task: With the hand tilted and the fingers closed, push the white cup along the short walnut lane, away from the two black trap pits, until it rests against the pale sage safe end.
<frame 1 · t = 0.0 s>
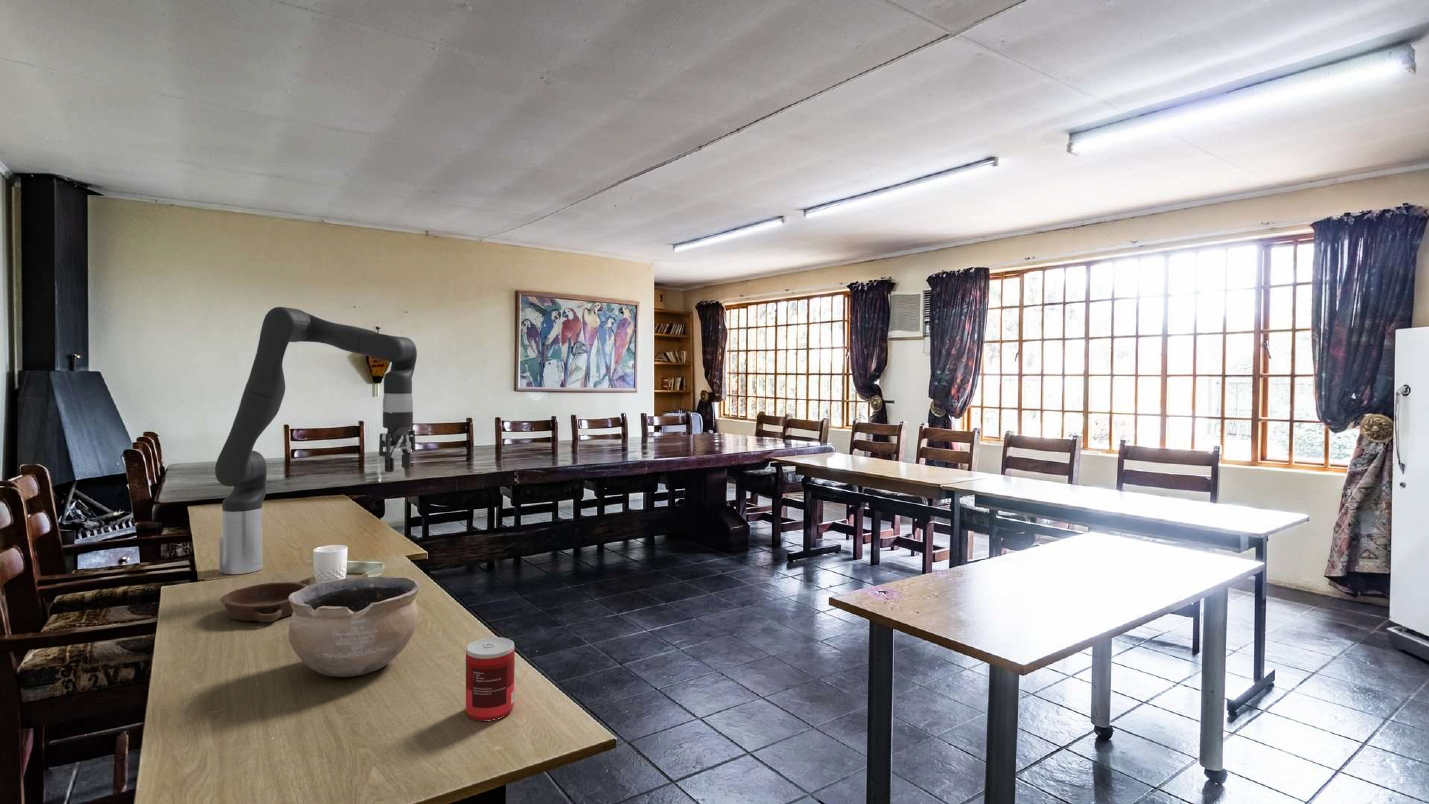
hand: (397, 469, 193), 29 cm above the table, tool pointing down, fingers open, 8 cm apart
white cup: (330, 587, 183), resting in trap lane
ceramic bowl: (355, 668, 134), on the table
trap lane: (335, 584, 185), on the table
canned food: (490, 712, 117), on the table
dish: (266, 614, 163), on the table
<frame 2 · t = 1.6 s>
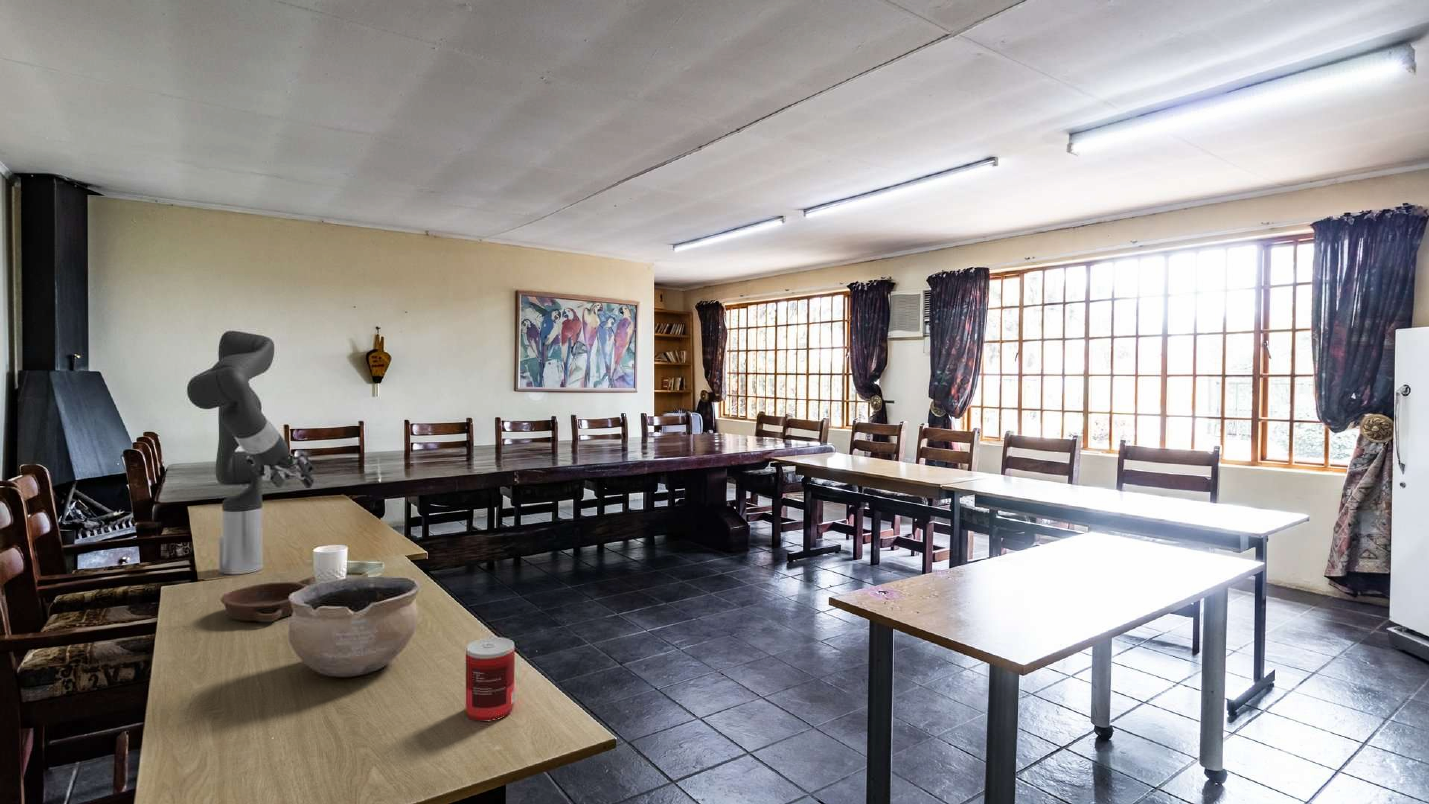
hand: (295, 484, 169), 28 cm above the table, tool tilted 45°, fingers open, 7 cm apart
nothing on the table moved.
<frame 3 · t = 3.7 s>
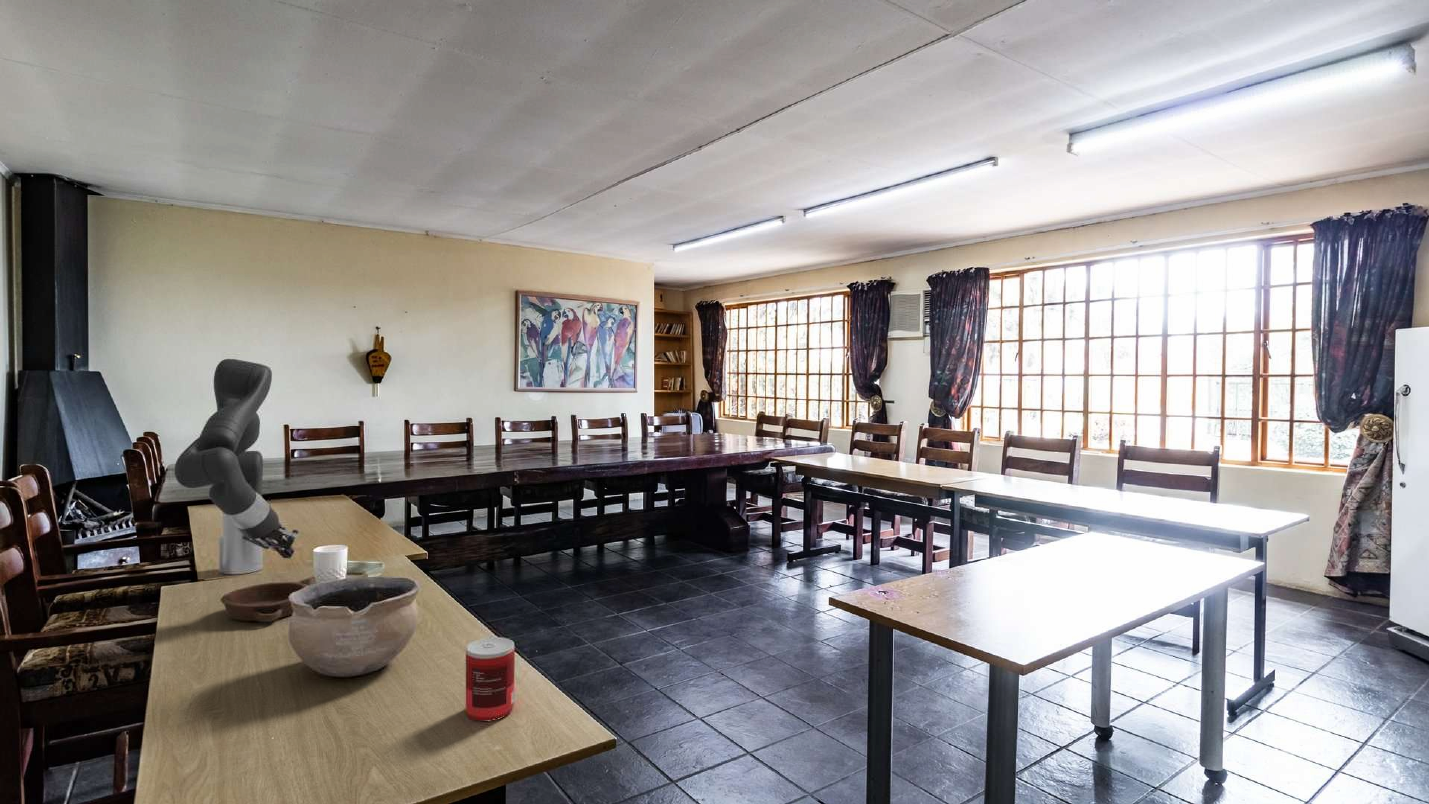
hand: (289, 554, 168), 12 cm above the table, tool tilted 45°, fingers closed
nothing on the table moved.
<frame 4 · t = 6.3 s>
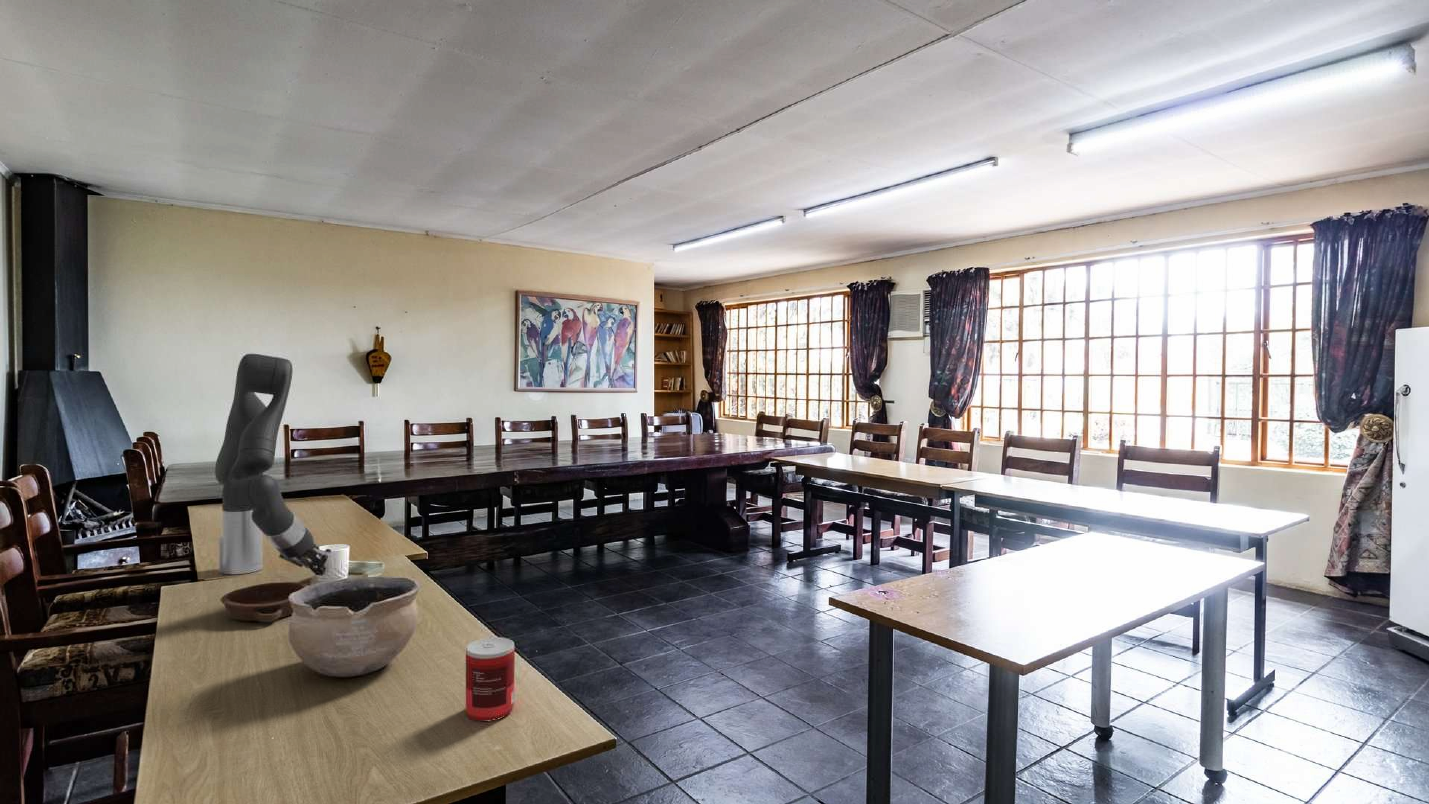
hand: (321, 572, 180), 5 cm above the table, tool tilted 45°, fingers closed
white cup: (332, 586, 184), resting in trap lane, touching gripper
everything else where it was.
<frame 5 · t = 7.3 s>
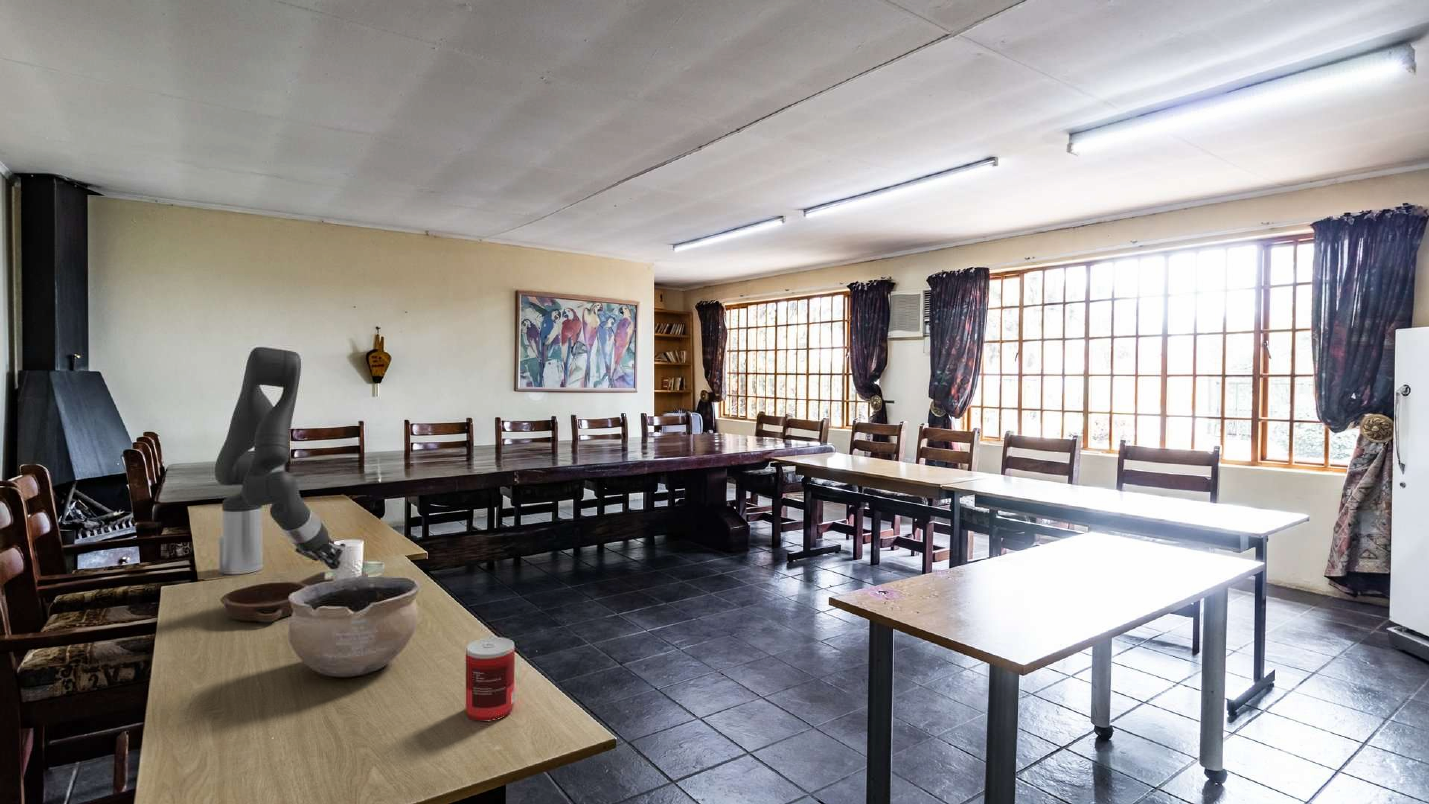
hand: (335, 566, 185), 5 cm above the table, tool tilted 45°, fingers closed
white cup: (347, 580, 190), resting in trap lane, touching gripper
everything else where it was.
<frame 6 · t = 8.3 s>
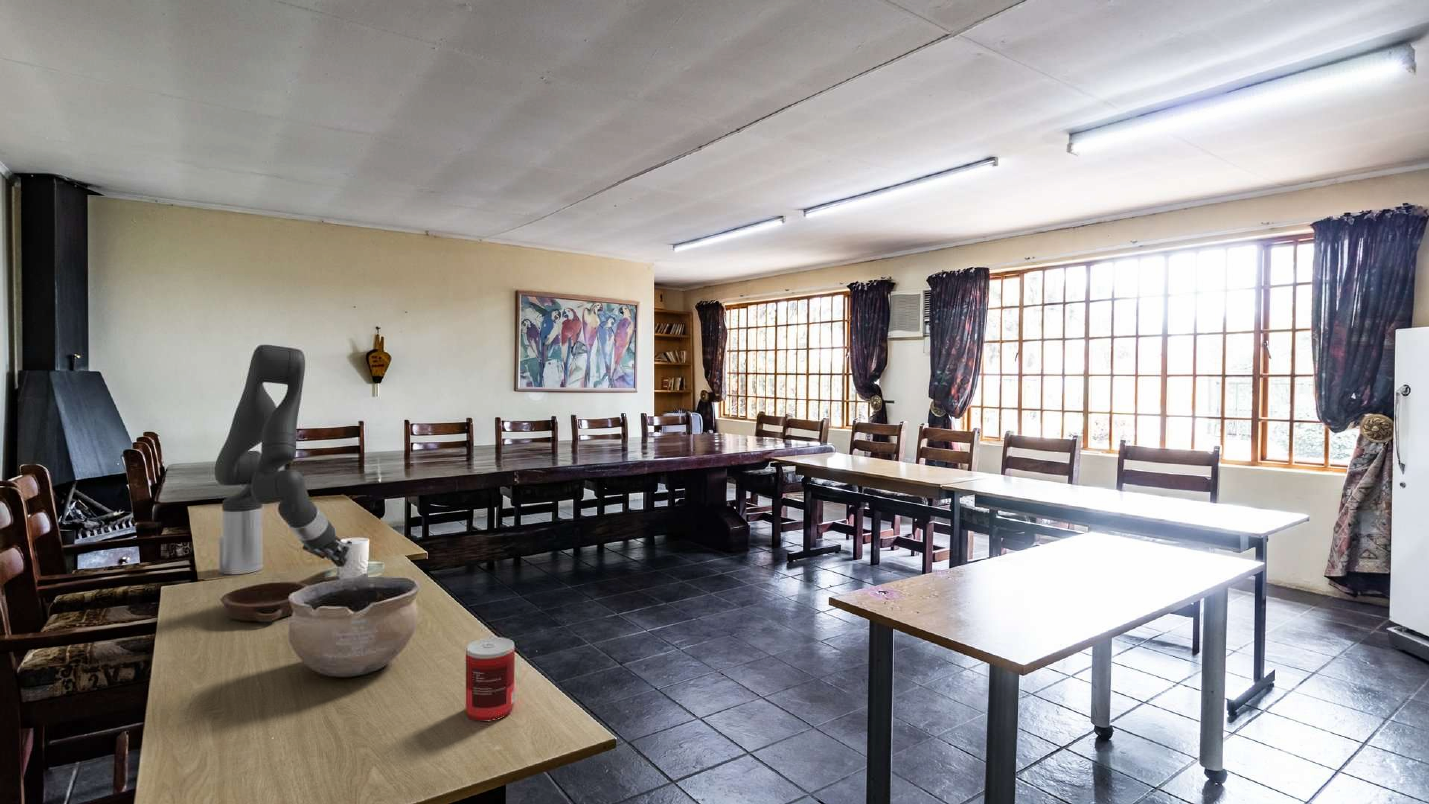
hand: (342, 563, 188), 5 cm above the table, tool tilted 45°, fingers closed
white cup: (353, 578, 192), resting in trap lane, touching gripper
everything else where it was.
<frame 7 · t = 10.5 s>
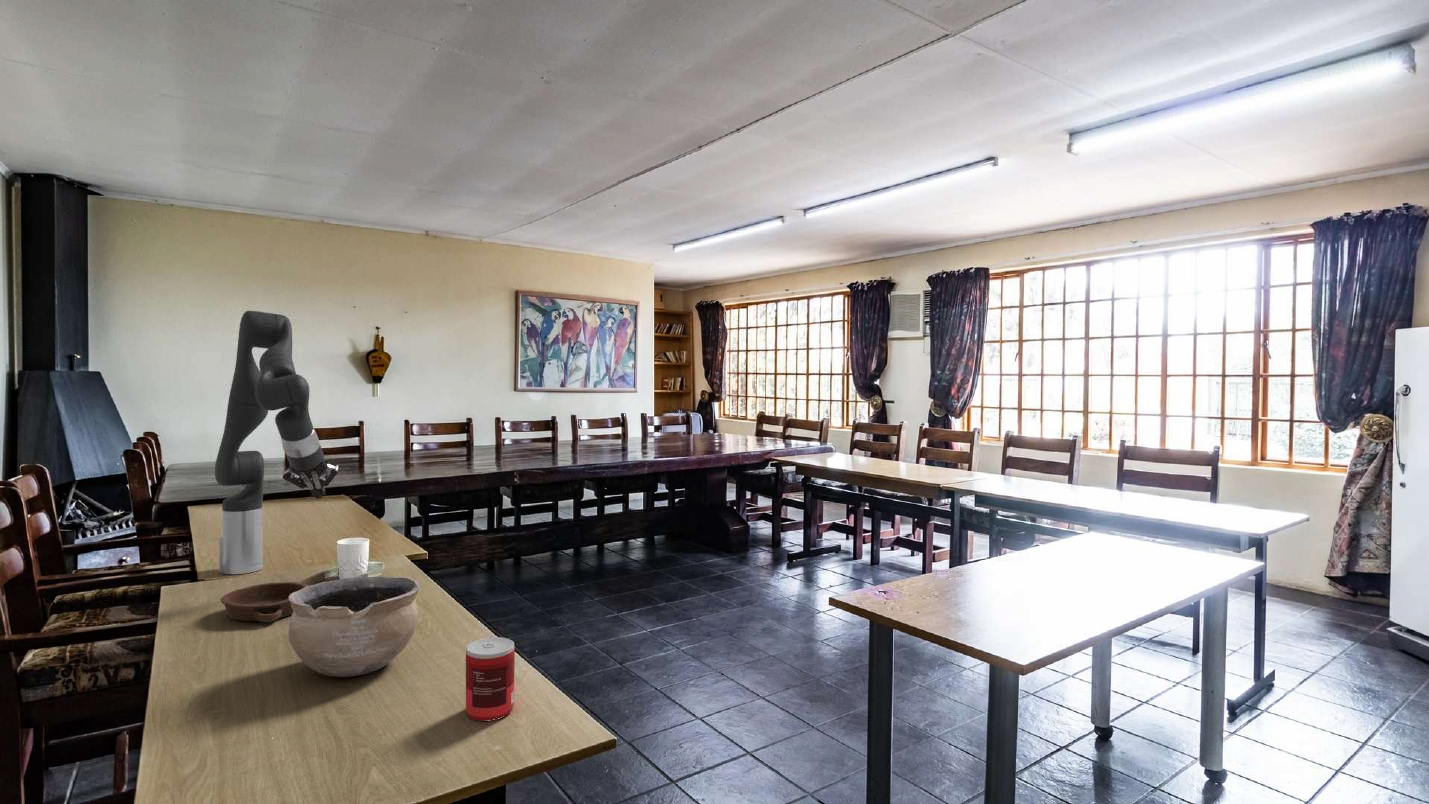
hand: (319, 496, 182), 24 cm above the table, tool tilted 35°, fingers closed
white cup: (353, 578, 192), resting in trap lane
everything else where it was.
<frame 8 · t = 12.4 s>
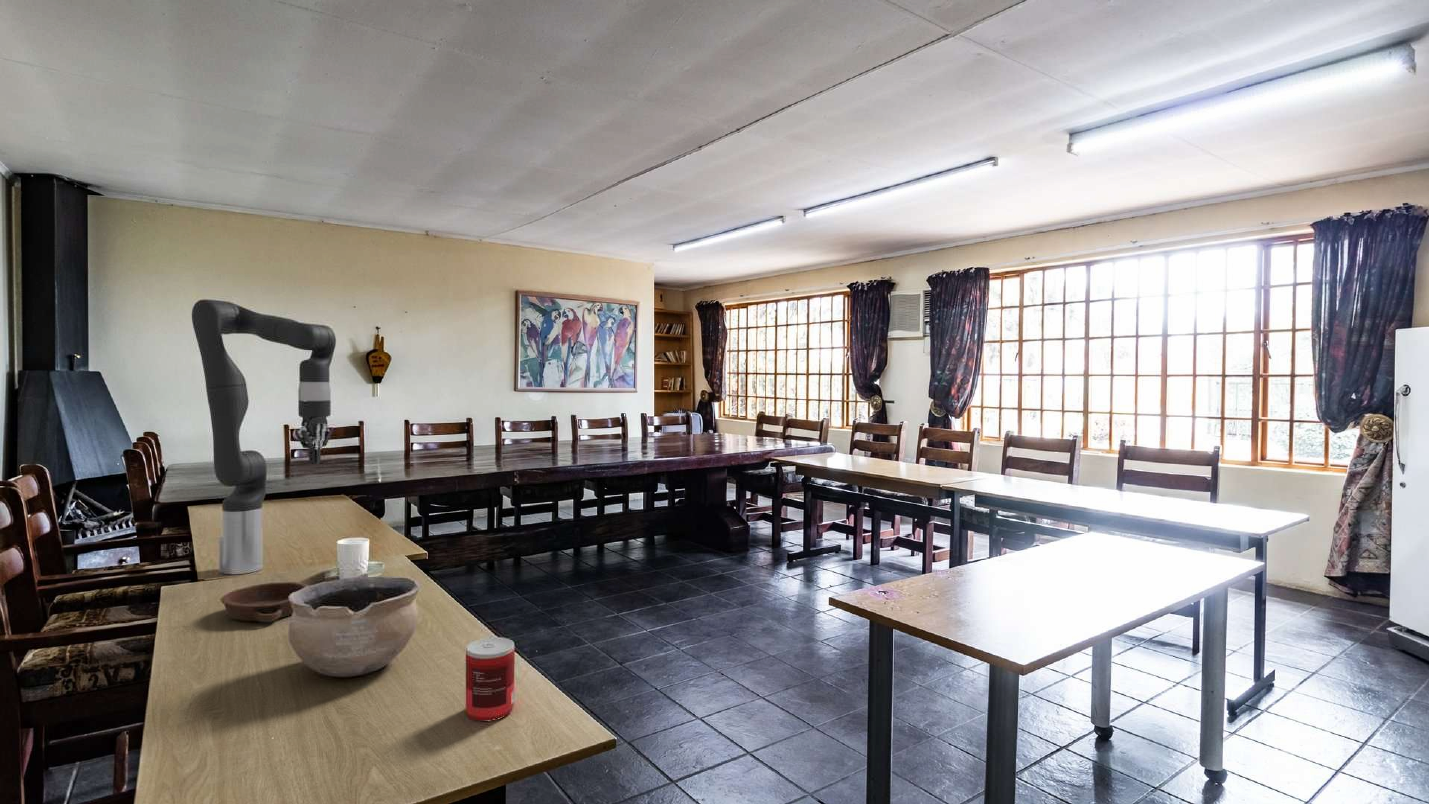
hand: (314, 463, 190), 31 cm above the table, tool pointing down, fingers closed
nothing on the table moved.
at the end: white cup inside the target area (1.3 cm from its centre), resting in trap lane; white cup tilted 0° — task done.
